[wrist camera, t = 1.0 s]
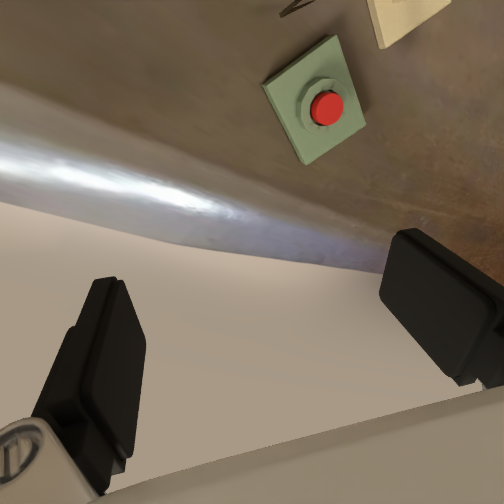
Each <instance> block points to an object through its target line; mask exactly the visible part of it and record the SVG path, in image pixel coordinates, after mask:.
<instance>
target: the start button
mask: <svg viewBox="0 0 504 504" xmlns="http://www.w3.org/2000/svg"><path fill="white" fill-rule="evenodd" d="M342 112H343V101H342V99H341V97H340V96H339V95H337V94H335V93H330V92H324V93H321V94H319V95H318V96H317V97H316V98H315V99H314V101H313V103H312V107H311V114H312V117H313V119H314V120H315V121H316V122H318V123H320V124H323V125H332V124H334V123H335V122H337V121H338V120H339V118H340V117H341V115H342Z"/></svg>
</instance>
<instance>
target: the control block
mask: <svg viewBox="0 0 504 504" xmlns="http://www.w3.org/2000/svg"><path fill="white" fill-rule="evenodd" d="M262 86H263V88H264V90H265V92H266V94H267V96H268V98H269V100H270V102H271V104H272V106H273V108H274V110H275V112H276V114H277V116H278V118H279V120H280V122H281V124H282V126H283V128H284V130H285V132H286V134H287V135H288V137H289V139H290V141H291V143H292V145H293V147H294V149H295V151H296V153H297V155H298V157H299V159H300V161H301V162H302V163H303V164H305V165H308V164H309V163H311V162H312V161H314V160H315V159H317V158H318V157H319V156H321V155H322V154H324V153H325V152H327V151H328V150H330V149H331V148H333V147H334V146H336V145H337V144H339V143H340V142H342V141H343V140H345V139H346V138H348V137H349V136H351V135H352V134H354V133H355V132H356V131H358V130H359V129H361V128H362V127H364V126H365V125H366V122H365V119H364V116H363V113H362V110H361V107H360V104H359V101H358V98H357V95H356V92H355V89H354V86H353V82H352V79H351V76H350V73H349V70H348V67H347V64H346V61H345V58H344V55H343V52H342V49H341V46H340V43H339V40H338V37H337V34H334V35H329V36H327V37H326V38H325V39H323V40H322V41H321V42H319V43H318V44H317V45H315V46H314V47H312V48H311V49H310V50H308V51H307V52H306V53H304V54H303V55H302V56H300V57H299V58H298V59H296V60H295V61H294V62H292V63H291V64H289V65H288V66H287V67H285V68H284V69H283V70H281V71H280V72H279V73H277V74H276V75H275V76H273V77H272V78H270V79H269V80H268V81H266V82H265V83H264V84H262ZM324 92H330V93H335V94H337V95H339V96H340V97H341V99H342V101H343V112H342V115H341V117H340V118H339V120H338V121H337V122H335V123H334V124H332V125H323V124H320V123H318V122H316V121H315V120H314V119H313V117H312V114H311V107H312V103H313V101H314V99H315V98H316V97H317V96H318V95H319V94H321V93H324Z"/></svg>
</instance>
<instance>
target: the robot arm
mask: <svg viewBox="0 0 504 504" xmlns="http://www.w3.org/2000/svg"><path fill="white" fill-rule="evenodd" d="M379 296H380V299H381V301H382V302H383V303H384V304H385V306H386V307H387V308H388V309H389V310H390V311H391V313H392V314H393V315H394V316H395V317H396V318H397V319H398V321H399V322H400V323H401V324H402V325H403V326H404V327H405V329H406V330H407V331H408V332H409V333H410V335H411V336H412V337H413V338H414V339H415V340H416V341H417V343H418V344H419V345H420V346H421V347H422V348H423V350H424V351H425V352H426V353H427V354H428V355H429V357H430V358H431V359H432V360H433V361H434V362H435V364H436V365H437V366H438V367H439V368H440V369H441V370H442V372H443V373H444V374H445V375H447V376H448V377H451V378H452V379H453V380H454V381H455V382H456V383H457V385H458V386H464V385H468V384H472V383H474V382H475V381H476V379H477V378H478V379H479V380H480V381H481V382H482V388H483V391H480V392H475V393H472V394H468V395H464V396H460V397H456V398H452V399H448V400H444V401H440V402H436V403H433V404H429V405H425V406H421V407H417V408H413V409H409V410H405V411H401V412H398V413H394V414H390V415H386V416H382V417H378V418H375V419H371V420H367V421H363V422H359V423H356V424H352V425H348V426H344V427H340V428H337V429H333V430H329V431H325V432H321V433H318V434H314V435H310V436H306V437H302V438H299V439H295V440H292V441H288V442H284V443H280V444H276V445H272V446H269V447H265V448H261V449H257V450H254V451H250V452H246V453H243V454H239V455H236V456H231V457H227V458H224V459H220V460H216V461H213V462H209V463H206V464H202V465H199V466H195V467H192V468H189V469H185V470H181V471H178V472H174V473H171V474H167V475H164V476H161V477H157V478H154V479H150V480H147V481H144V482H141V483H138V484H135V485H132V486H129V487H126V488H123V489H120V490H117V491H115V492H111V493H109V494H107V493H106V492H105V491H106V490H107V489H108V487H109V485H110V479H111V476H112V475H116V474H120V473H123V472H125V465H126V458H130V457H132V455H133V451H134V443H135V435H136V428H137V418H138V411H139V402H140V394H141V386H142V377H143V369H144V361H145V353H146V339H145V336H144V333H143V331H142V328H141V325H140V323H139V320H138V318H137V315H136V312H135V309H134V307H133V304H132V301H131V299H130V296H129V294H128V291H127V289H126V286H125V283H124V281H123V280H117V278H116V277H114V276H113V277H106V278H100V279H95V280H94V281H93V283H92V286H91V288H90V290H89V293H88V296H87V298H86V300H85V303H84V305H83V308H82V310H81V313H80V315H79V318H78V320H77V323H76V325H75V326H72V327H71V328H69V330H68V331H67V333H66V335H65V338H64V340H63V343H62V345H61V347H60V349H59V352H58V354H57V356H56V359H55V361H54V363H53V366H52V368H51V370H50V373H49V375H48V377H47V380H46V382H45V384H44V387H43V389H42V391H41V394H40V396H39V399H38V401H37V403H36V405H35V408H34V410H33V413H32V415H31V417H29V418H23V419H20V420H17V421H15V422H12V423H10V424H9V425H7V426H5V427H4V428H2V429H1V430H0V504H504V287H503V286H502V285H500V284H499V283H497V282H496V281H495V280H493V279H492V278H490V277H489V276H487V275H486V274H484V273H483V272H481V271H480V270H478V269H477V268H475V267H474V266H472V265H471V264H469V263H468V262H466V261H465V260H464V259H462V258H461V257H459V256H458V255H456V254H455V253H453V252H452V251H450V250H449V249H447V248H446V247H444V246H443V245H441V244H440V243H438V242H437V241H435V240H434V239H433V238H431V237H430V236H428V235H427V234H425V233H424V232H422V231H421V230H419V229H417V228H411V229H405V230H400V231H398V232H397V233H396V235H395V236H394V237H393V238H392V242H391V246H390V250H389V254H388V258H387V262H386V266H385V270H384V274H383V278H382V282H381V286H380V290H379Z"/></svg>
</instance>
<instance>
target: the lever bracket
mask: <svg viewBox="0 0 504 504" xmlns="http://www.w3.org/2000/svg"><path fill="white" fill-rule="evenodd" d="M367 3H368V7H369V11H370V15H371V19H372V23H373V27H374V30H375V34H376V38H377V42H378V46H379V49H385V48H387V47H389V46H390V45H391V44H393V43H394V42H396V41H397V40H399V39H400V38H401V37H403V36H404V35H406V34H407V33H408V32H410V31H411V30H413V29H414V28H415V27H417V26H418V25H420V24H421V23H423V22H424V21H425V20H427V19H428V18H430V17H431V16H432V15H434V14H435V13H437V12H438V11H439V10H441V9H442V8H444V7H445V6H446V5H448V4H449V3H451V0H367Z"/></svg>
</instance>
